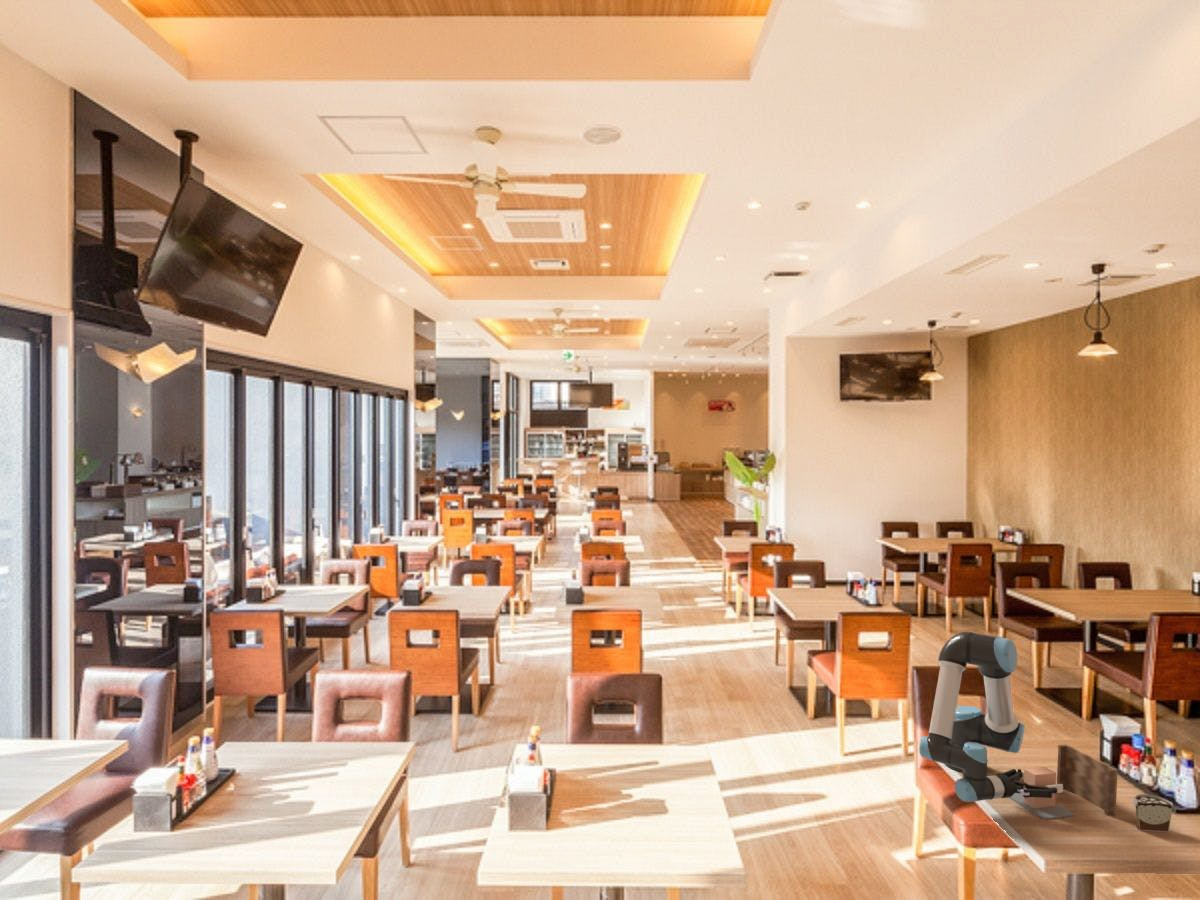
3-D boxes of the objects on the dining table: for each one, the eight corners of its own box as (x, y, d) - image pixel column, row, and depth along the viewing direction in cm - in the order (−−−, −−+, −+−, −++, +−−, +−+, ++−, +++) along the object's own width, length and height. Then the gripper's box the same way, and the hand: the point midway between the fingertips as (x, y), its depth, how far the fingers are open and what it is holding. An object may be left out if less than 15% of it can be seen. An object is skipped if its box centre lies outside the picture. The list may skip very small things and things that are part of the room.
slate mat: (1005, 795, 284) (1005, 793, 284) (1034, 792, 287) (1034, 790, 287) (1043, 819, 267) (1043, 818, 267) (1074, 816, 270) (1074, 814, 270)
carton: (1023, 801, 278) (1024, 768, 278) (1043, 799, 280) (1045, 766, 280) (1033, 808, 273) (1035, 775, 273) (1054, 805, 275) (1056, 772, 275)
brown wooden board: (1056, 786, 292) (1058, 745, 291) (1064, 785, 293) (1066, 744, 292) (1107, 815, 271) (1109, 770, 270) (1115, 814, 271) (1117, 769, 271)
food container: (1161, 823, 266) (1163, 794, 266) (1173, 832, 260) (1174, 803, 260) (1124, 820, 267) (1125, 792, 267) (1134, 829, 261) (1135, 800, 261)
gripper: (974, 782, 283) (1024, 777, 289) (1021, 813, 261) (1075, 806, 267) (975, 762, 283) (1025, 757, 288) (1022, 791, 261) (1076, 785, 266)
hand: (1049, 781), depth 278 cm, fingers open, 10 cm apart
